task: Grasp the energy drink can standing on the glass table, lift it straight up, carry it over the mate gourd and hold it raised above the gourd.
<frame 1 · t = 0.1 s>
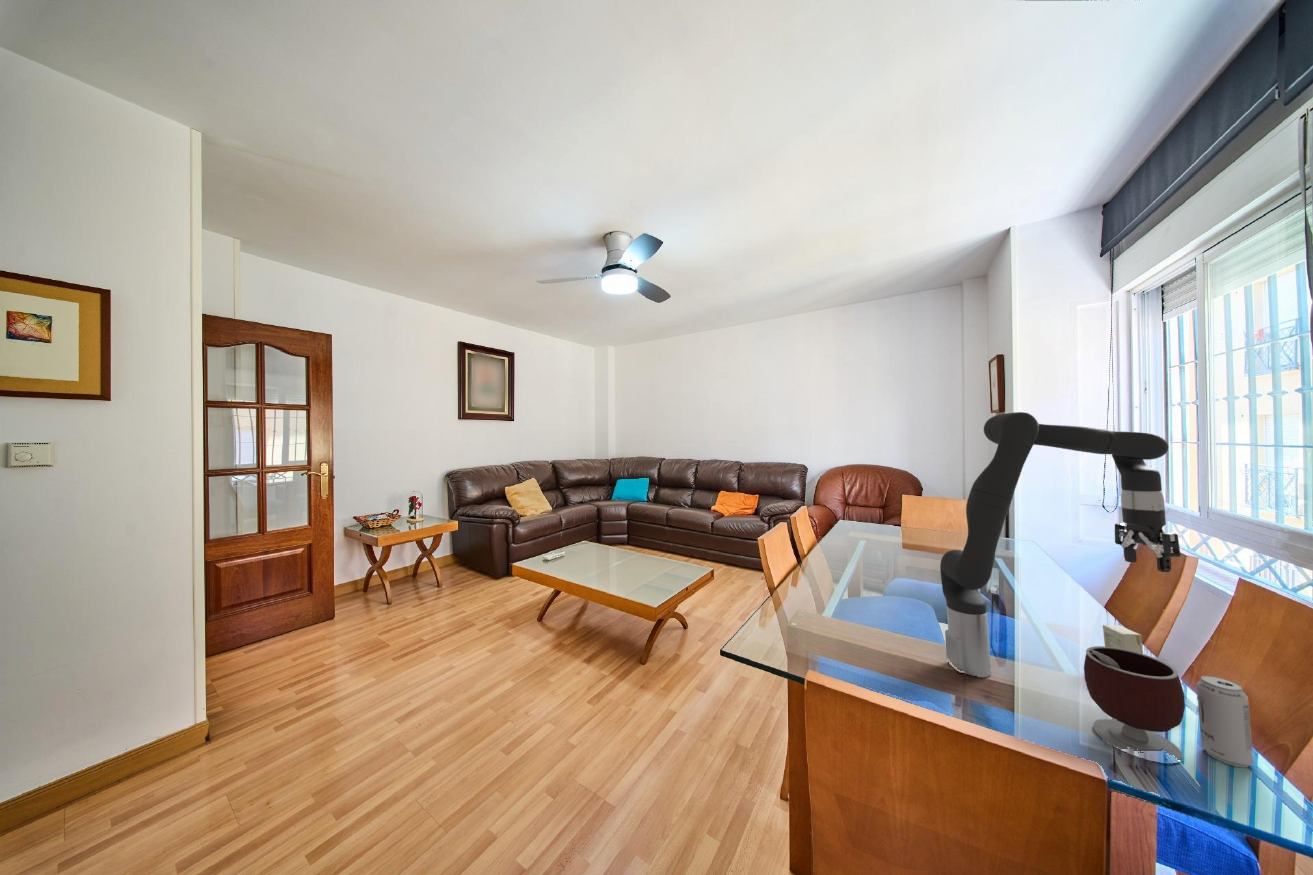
hand: (1146, 566, 109), 29 cm above the table, fingers open, 8 cm apart
energy drink can: (1227, 758, 81), on the table
mate gourd: (1132, 742, 86), on the table
skincare box: (1125, 675, 109), on the table
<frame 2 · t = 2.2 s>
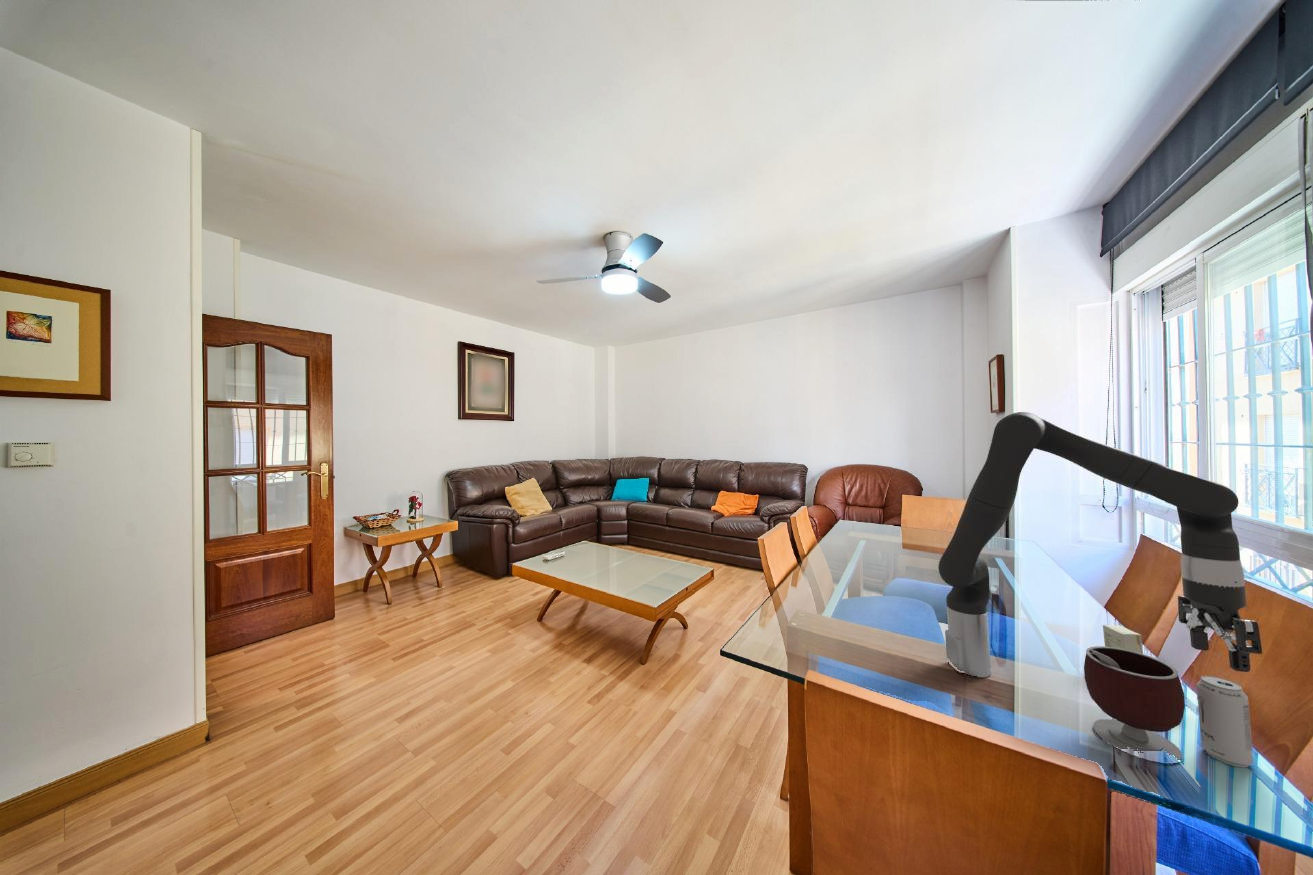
hand: (1219, 659, 81), 20 cm above the table, fingers open, 8 cm apart
nothing on the table moved.
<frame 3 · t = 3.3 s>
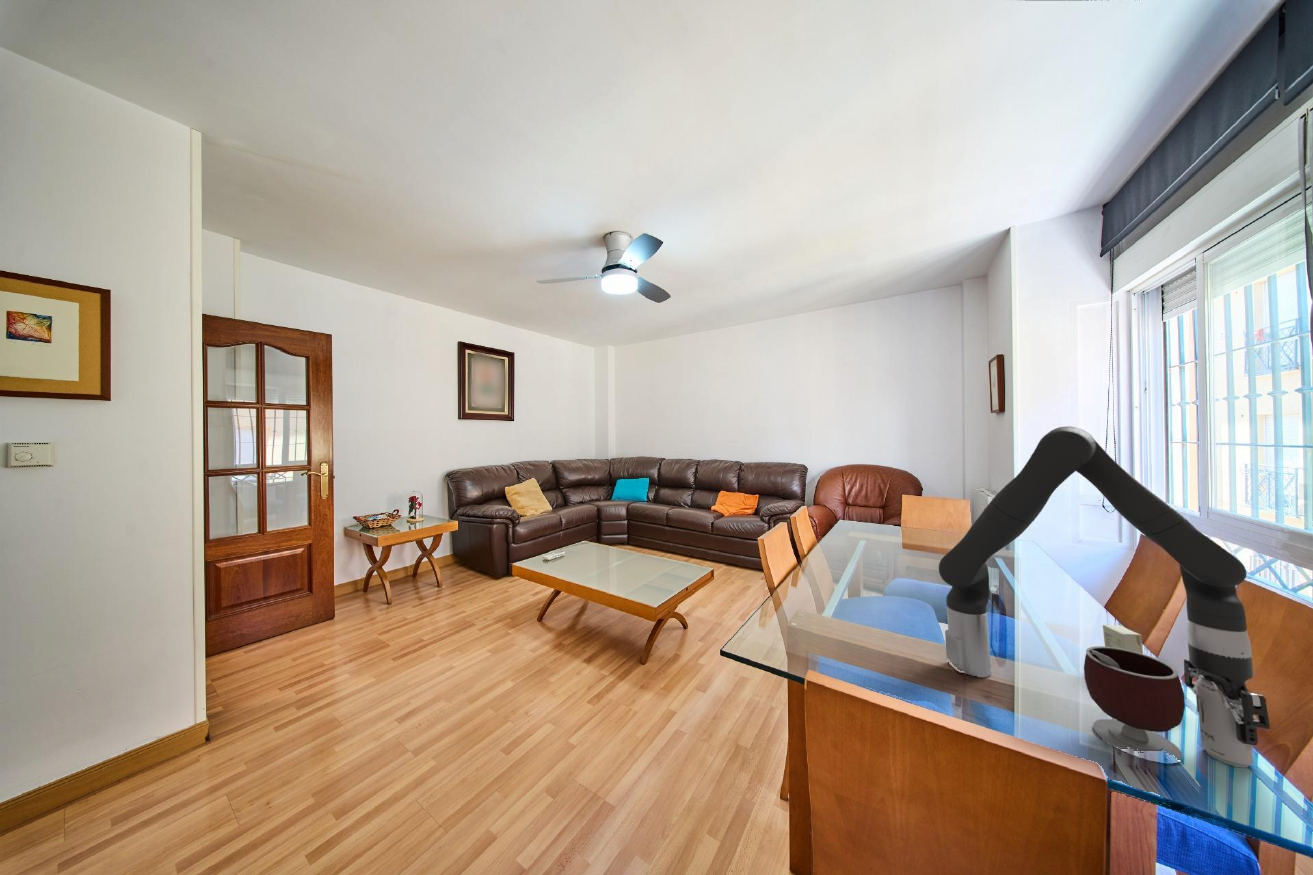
hand: (1225, 728, 81), 6 cm above the table, fingers open, 8 cm apart
nothing on the table moved.
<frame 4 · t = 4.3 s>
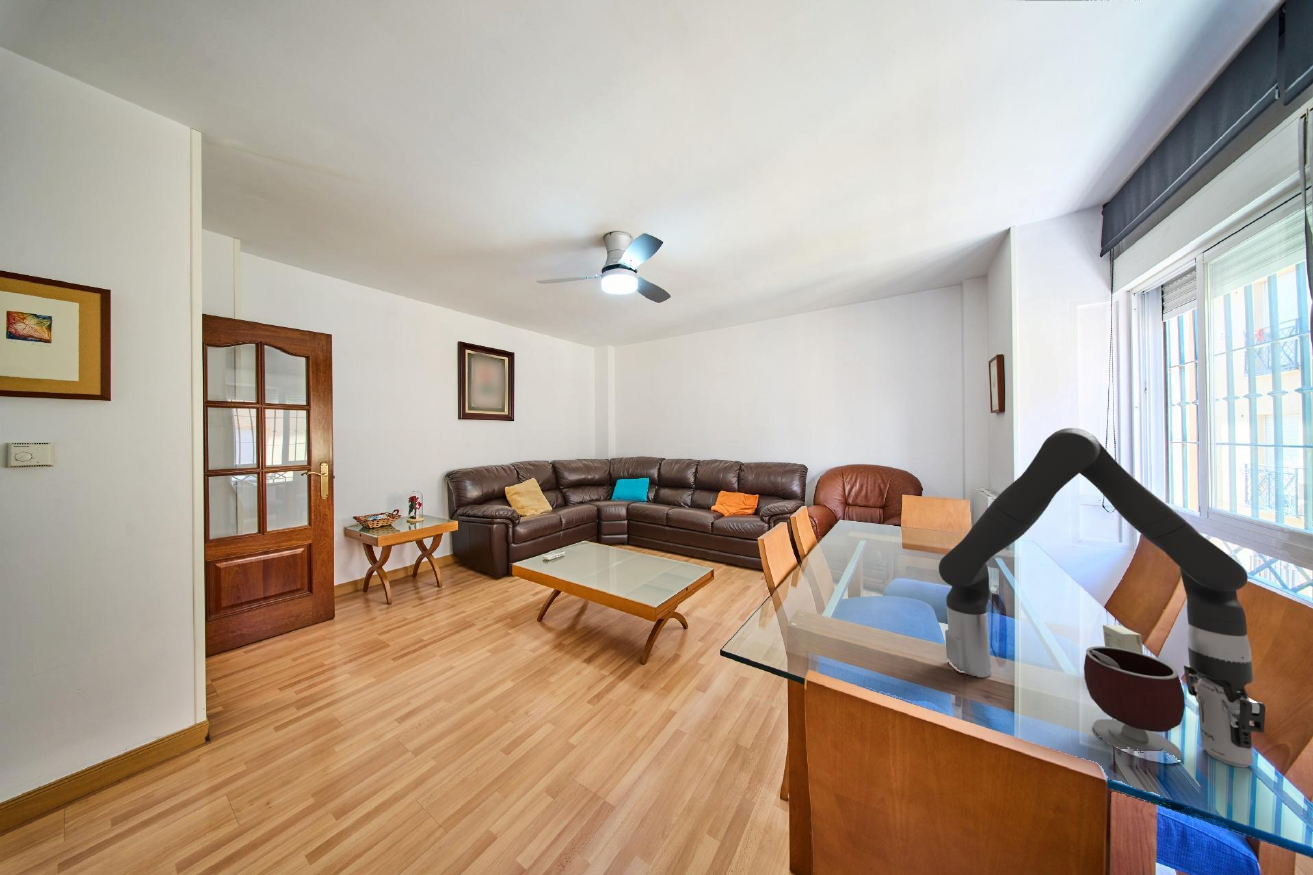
hand: (1225, 734, 81), 5 cm above the table, fingers closed on energy drink can, 6 cm apart
energy drink can: (1227, 758, 81), on the table, touching gripper
everything else where it was.
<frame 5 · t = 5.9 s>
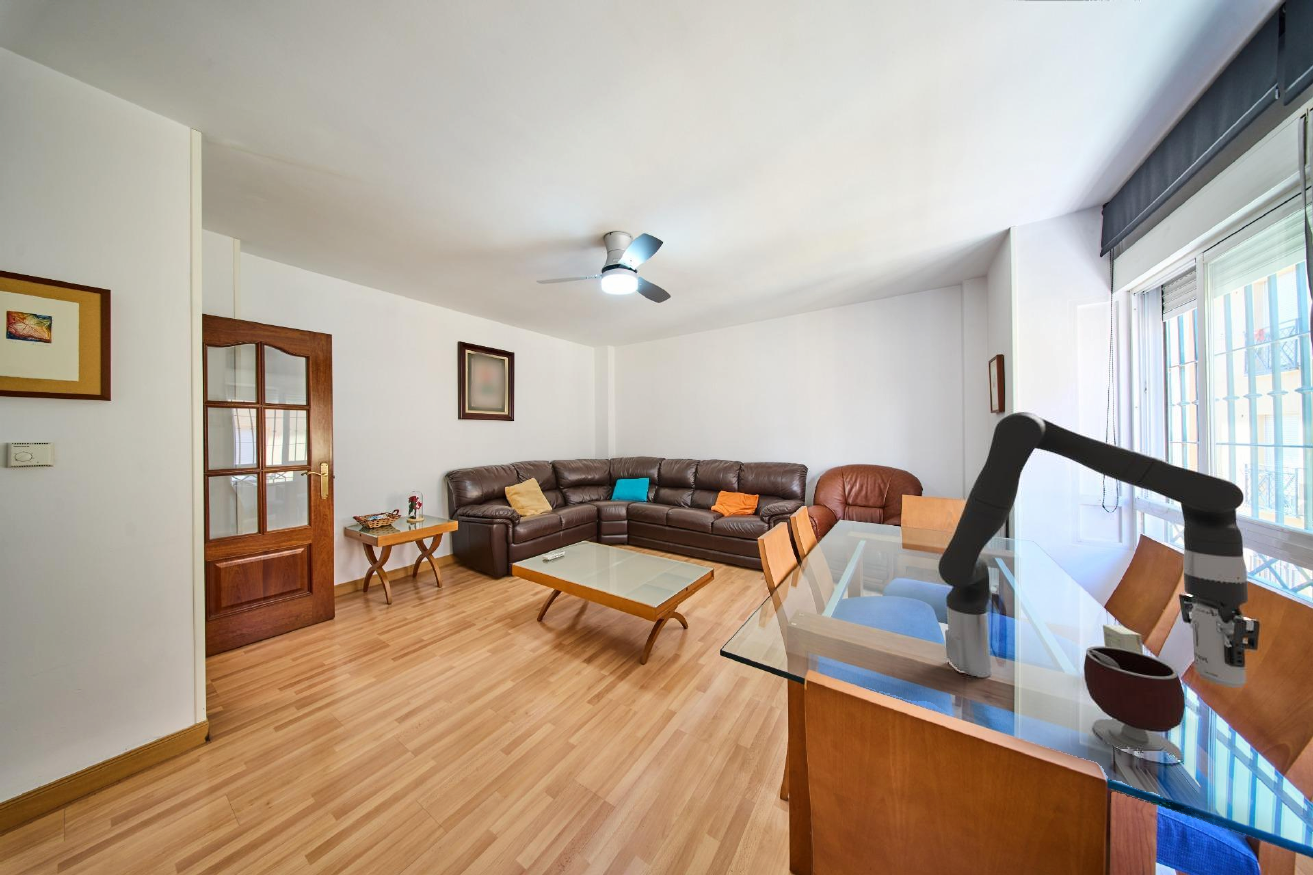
hand: (1218, 656, 81), 20 cm above the table, fingers closed on energy drink can, 6 cm apart
energy drink can: (1220, 680, 81), point 15 cm above the table, touching gripper
everything else where it was.
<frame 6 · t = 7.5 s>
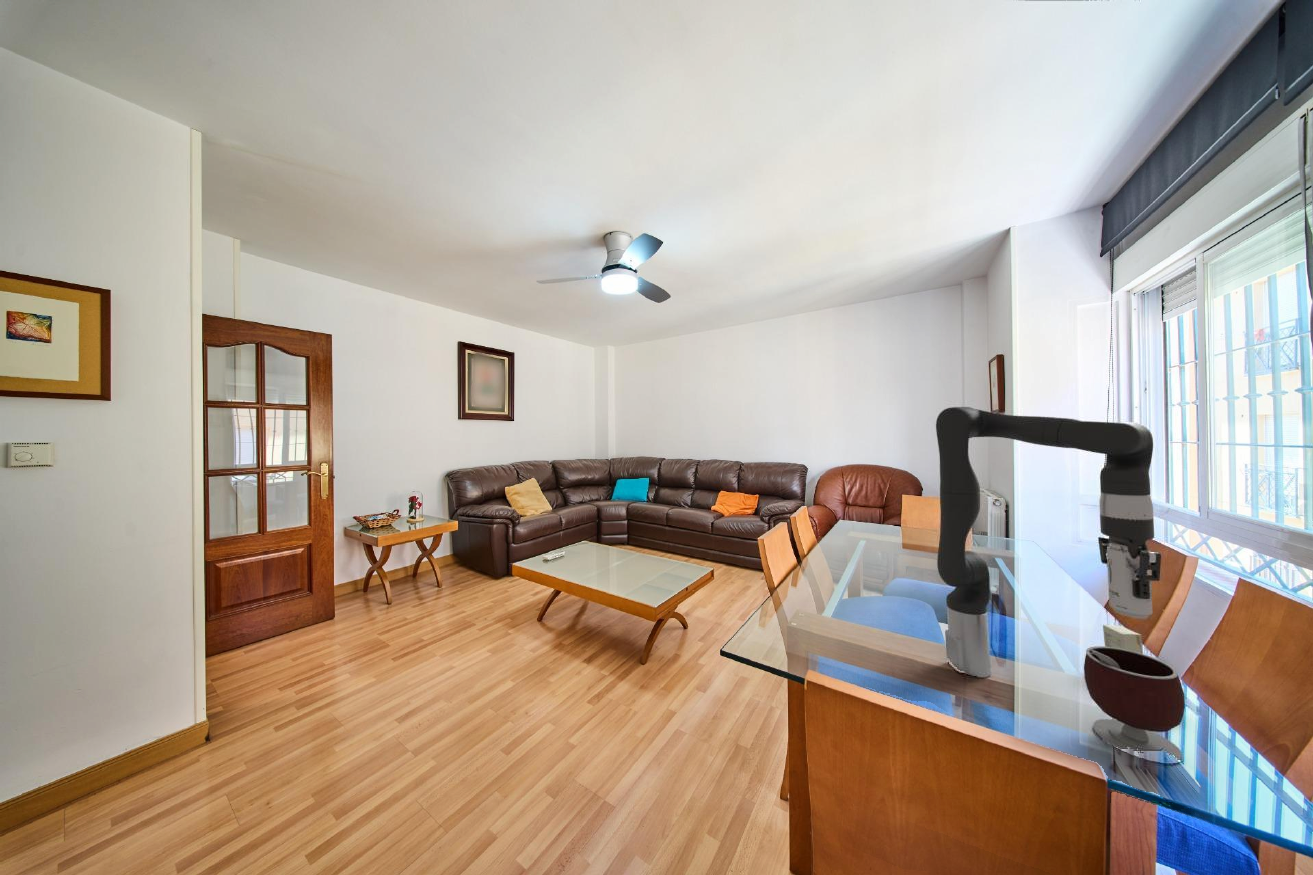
hand: (1129, 591, 86), 32 cm above the table, fingers closed on energy drink can, 6 cm apart
energy drink can: (1130, 614, 86), point 27 cm above the table, touching gripper
everything else where it was.
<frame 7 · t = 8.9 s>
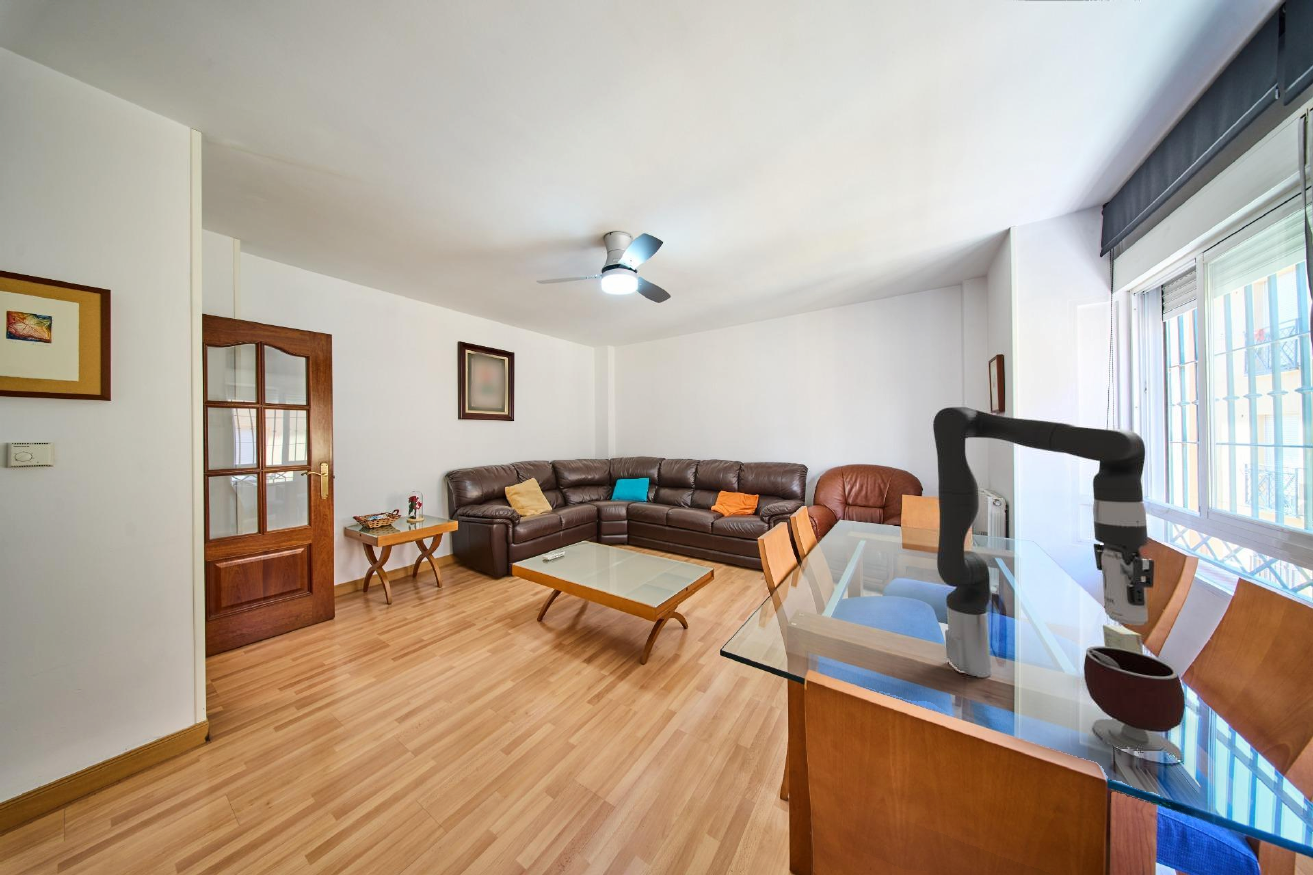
hand: (1124, 598, 86), 30 cm above the table, fingers closed on energy drink can, 6 cm apart
energy drink can: (1126, 621, 86), point 26 cm above the table, touching gripper
everything else where it was.
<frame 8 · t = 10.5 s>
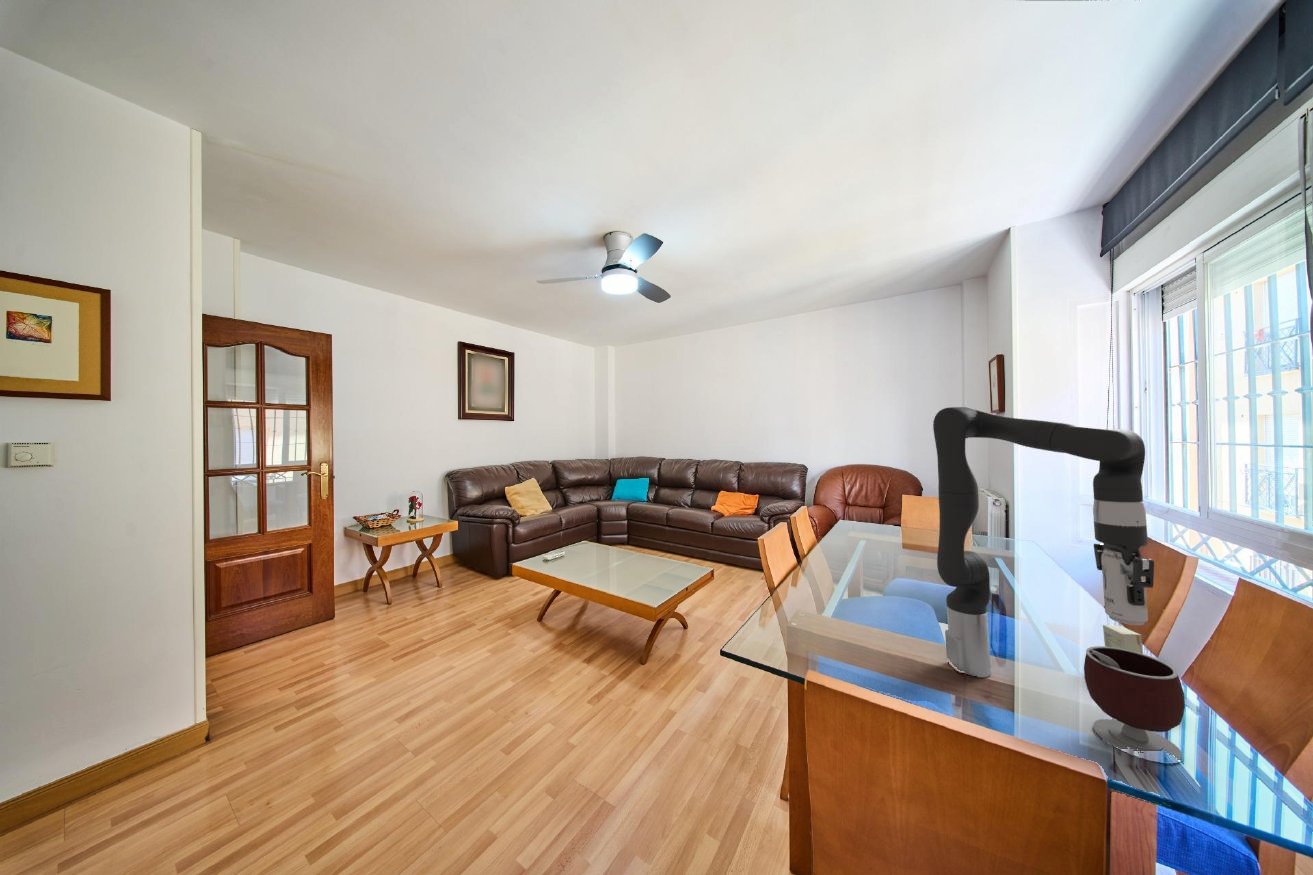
hand: (1124, 598, 86), 30 cm above the table, fingers closed on energy drink can, 6 cm apart
energy drink can: (1126, 621, 86), point 26 cm above the table, touching gripper
everything else where it was.
at the end: the gripper is holding energy drink can; energy drink can point 25.6 cm above the table; energy drink can 0.6 cm from the mate gourd (horizontally) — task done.
